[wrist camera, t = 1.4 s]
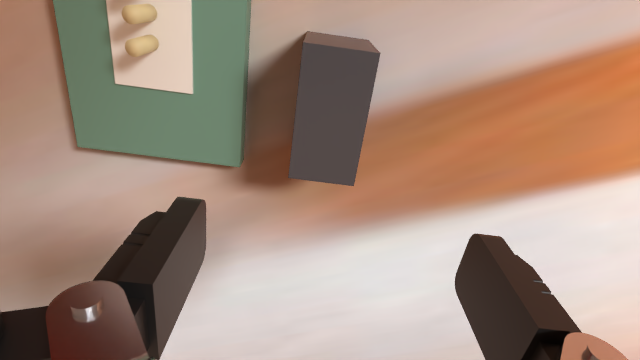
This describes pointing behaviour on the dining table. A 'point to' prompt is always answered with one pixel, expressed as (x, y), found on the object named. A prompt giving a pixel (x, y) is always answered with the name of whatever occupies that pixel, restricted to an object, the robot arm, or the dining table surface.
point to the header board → (158, 76)
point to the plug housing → (332, 107)
